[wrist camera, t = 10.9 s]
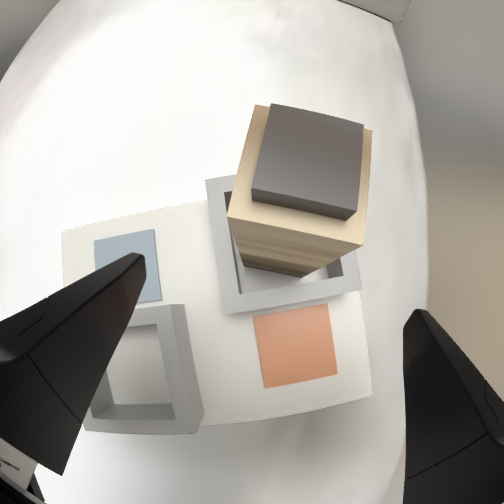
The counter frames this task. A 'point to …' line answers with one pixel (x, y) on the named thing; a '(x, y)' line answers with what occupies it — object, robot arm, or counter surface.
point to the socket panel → (218, 326)
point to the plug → (300, 190)
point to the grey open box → (384, 8)
